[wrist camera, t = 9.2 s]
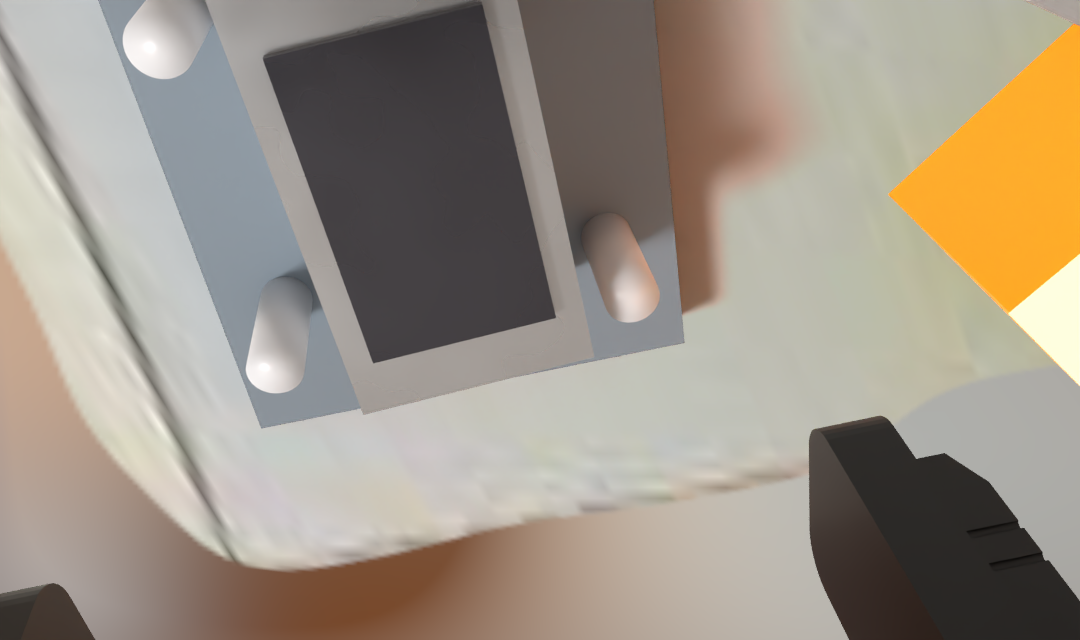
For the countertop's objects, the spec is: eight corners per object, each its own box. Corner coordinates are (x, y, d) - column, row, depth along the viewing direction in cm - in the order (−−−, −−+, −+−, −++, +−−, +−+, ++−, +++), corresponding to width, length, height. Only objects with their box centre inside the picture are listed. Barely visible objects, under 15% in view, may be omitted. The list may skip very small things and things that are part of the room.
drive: (229, -60, 20) (198, -10, 16) (479, -122, 20) (499, -85, 16) (365, 320, 24) (363, 420, 21) (566, 271, 25) (596, 362, 21)
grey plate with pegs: (50, -182, 19) (-26, -155, 16) (615, -285, 20) (666, -281, 16) (266, 400, 27) (247, 508, 23) (672, 318, 27) (717, 412, 24)
